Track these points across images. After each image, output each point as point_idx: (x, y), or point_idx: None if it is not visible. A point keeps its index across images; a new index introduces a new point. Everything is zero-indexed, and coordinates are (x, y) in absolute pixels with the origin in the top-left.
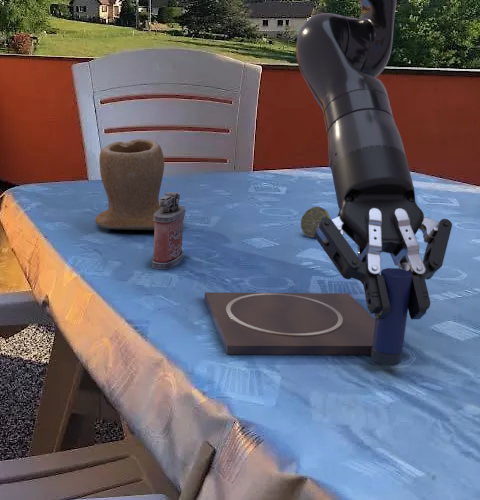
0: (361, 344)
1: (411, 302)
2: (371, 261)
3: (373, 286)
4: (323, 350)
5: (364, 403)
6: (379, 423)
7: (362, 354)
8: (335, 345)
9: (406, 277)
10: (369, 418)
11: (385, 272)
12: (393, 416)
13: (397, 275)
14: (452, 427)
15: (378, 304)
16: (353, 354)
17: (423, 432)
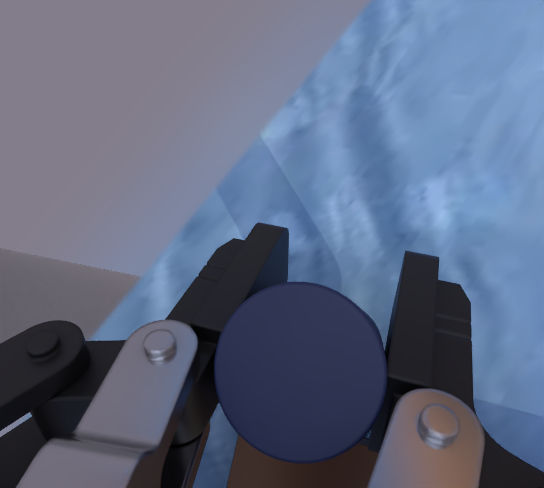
0: (356, 453)
1: None
2: (449, 479)
3: (449, 361)
4: None
5: (509, 180)
6: (523, 93)
7: None
8: None
9: (292, 283)
10: (536, 115)
11: (368, 385)
12: (470, 117)
13: (329, 315)
14: (367, 64)
15: (444, 289)
16: None
17: (443, 51)
